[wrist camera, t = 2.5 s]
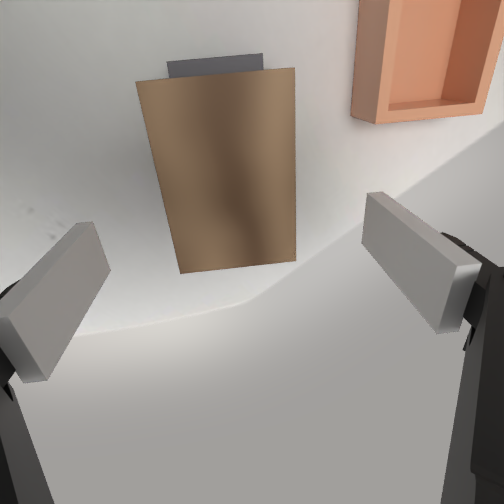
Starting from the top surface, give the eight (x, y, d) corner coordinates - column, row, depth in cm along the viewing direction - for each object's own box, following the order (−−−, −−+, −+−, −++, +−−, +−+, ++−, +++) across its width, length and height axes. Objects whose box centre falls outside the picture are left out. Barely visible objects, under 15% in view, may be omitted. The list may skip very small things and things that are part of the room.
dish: (350, 115, 27) (375, 124, 22) (364, -58, 21) (400, -92, 17) (440, 107, 27) (482, 113, 23) (477, -67, 21) (541, -102, 17)
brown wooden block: (186, 243, 28) (180, 273, 24) (152, 80, 22) (135, 81, 17) (284, 232, 28) (296, 260, 24) (280, 68, 22) (294, 67, 18)
